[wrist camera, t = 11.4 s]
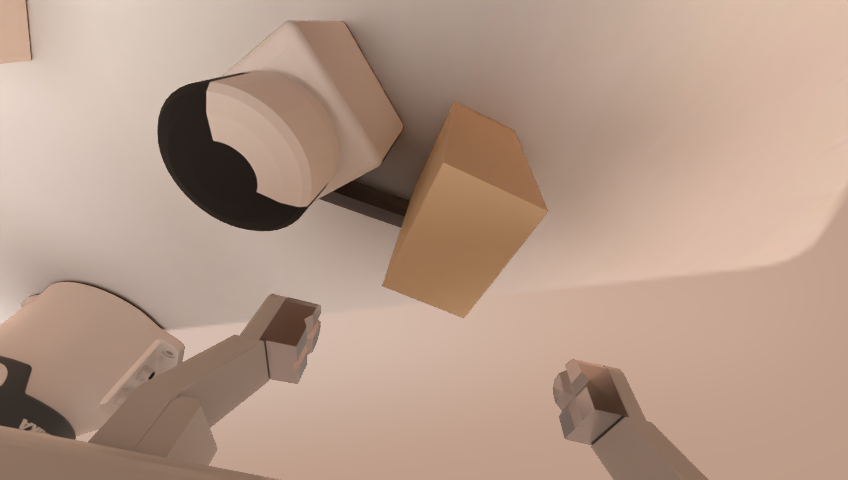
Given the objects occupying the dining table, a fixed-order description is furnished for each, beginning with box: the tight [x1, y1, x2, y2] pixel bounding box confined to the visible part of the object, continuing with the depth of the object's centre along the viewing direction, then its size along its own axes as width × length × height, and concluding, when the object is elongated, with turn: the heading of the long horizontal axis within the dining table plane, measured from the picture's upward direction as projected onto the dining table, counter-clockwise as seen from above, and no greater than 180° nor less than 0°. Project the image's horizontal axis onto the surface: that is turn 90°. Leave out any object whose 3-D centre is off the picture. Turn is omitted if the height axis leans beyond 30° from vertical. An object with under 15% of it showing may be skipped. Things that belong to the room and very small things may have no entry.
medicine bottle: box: [158, 21, 403, 231], centre depth 17 cm, size 7×7×12 cm
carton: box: [382, 101, 548, 318], centre depth 18 cm, size 5×7×11 cm
